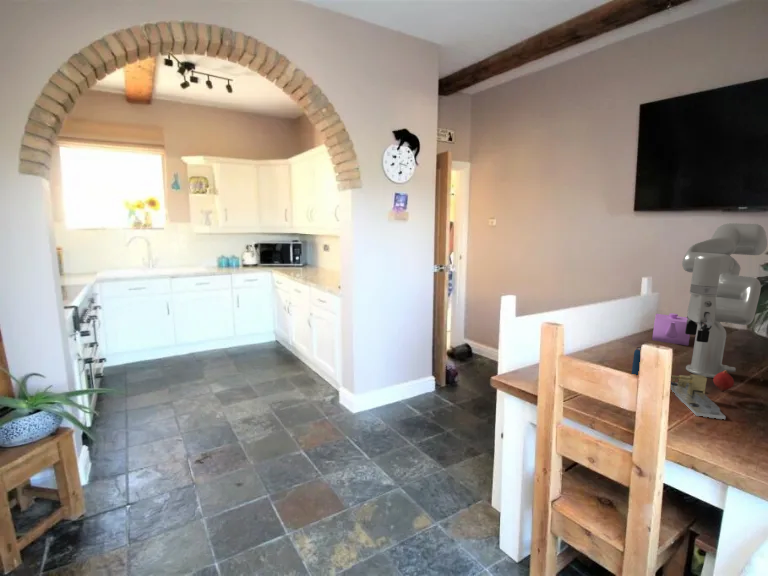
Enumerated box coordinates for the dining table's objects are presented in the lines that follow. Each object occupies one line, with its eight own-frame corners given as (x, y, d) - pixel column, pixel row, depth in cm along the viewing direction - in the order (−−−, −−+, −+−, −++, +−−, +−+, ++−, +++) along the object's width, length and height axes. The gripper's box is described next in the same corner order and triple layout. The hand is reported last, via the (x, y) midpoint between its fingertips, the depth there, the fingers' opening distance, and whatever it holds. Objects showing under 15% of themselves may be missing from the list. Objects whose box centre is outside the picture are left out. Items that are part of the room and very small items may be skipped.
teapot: (651, 343, 205) (655, 316, 202) (653, 332, 225) (656, 307, 222) (688, 349, 196) (693, 321, 194) (687, 337, 216) (691, 311, 214)
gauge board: (690, 387, 152) (691, 375, 152) (724, 419, 128) (727, 406, 127) (664, 384, 155) (666, 372, 154) (694, 415, 130) (696, 402, 129)
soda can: (650, 383, 156) (654, 353, 154) (629, 378, 160) (633, 349, 158) (653, 377, 161) (657, 348, 159) (632, 373, 165) (636, 345, 163)
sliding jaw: (701, 393, 143) (704, 375, 142) (704, 396, 141) (707, 378, 140) (675, 391, 145) (678, 372, 144) (678, 393, 143) (680, 375, 142)
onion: (707, 387, 153) (711, 366, 151) (723, 387, 152) (727, 367, 151) (719, 393, 147) (723, 372, 145) (736, 394, 147) (740, 373, 145)
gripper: (729, 295, 132) (720, 346, 135) (705, 287, 149) (697, 332, 152) (701, 293, 134) (694, 343, 137) (681, 285, 151) (674, 330, 154)
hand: (696, 337), depth 144 cm, fingers open, 9 cm apart
